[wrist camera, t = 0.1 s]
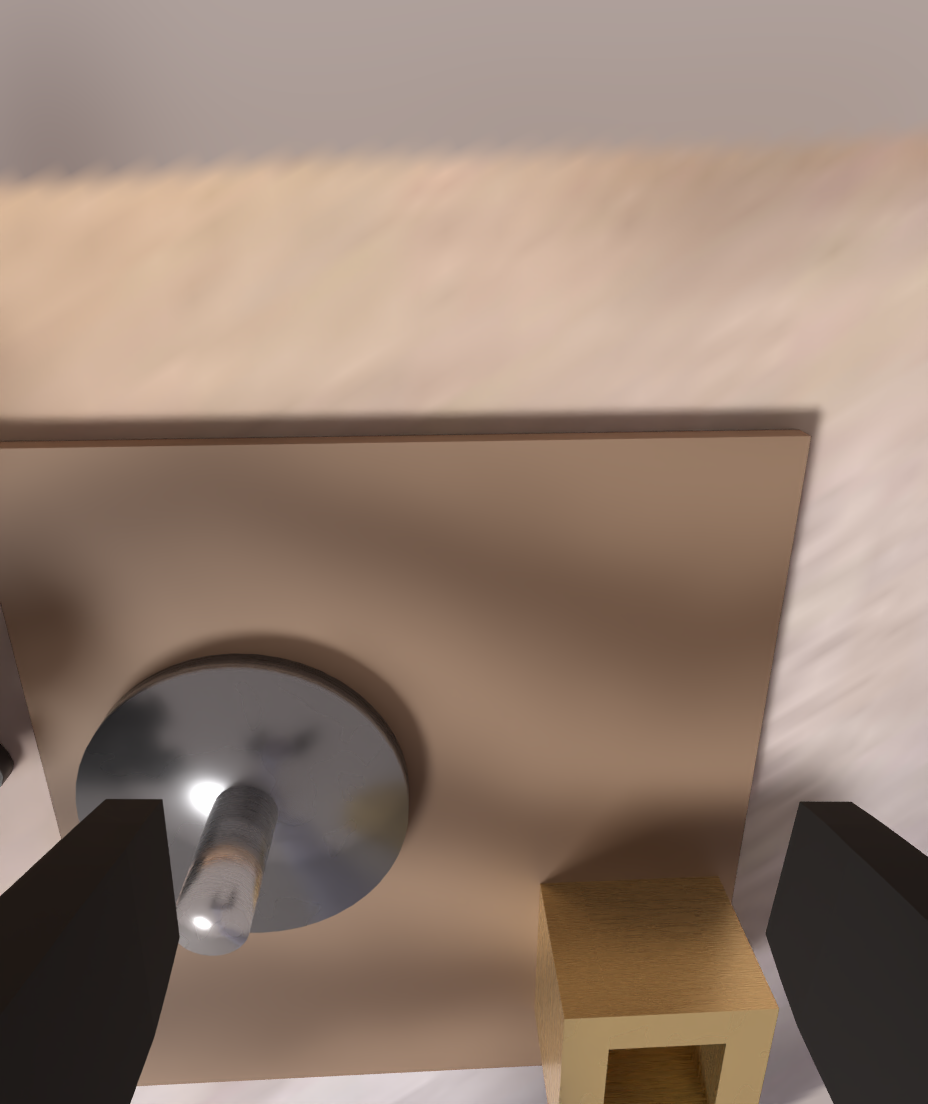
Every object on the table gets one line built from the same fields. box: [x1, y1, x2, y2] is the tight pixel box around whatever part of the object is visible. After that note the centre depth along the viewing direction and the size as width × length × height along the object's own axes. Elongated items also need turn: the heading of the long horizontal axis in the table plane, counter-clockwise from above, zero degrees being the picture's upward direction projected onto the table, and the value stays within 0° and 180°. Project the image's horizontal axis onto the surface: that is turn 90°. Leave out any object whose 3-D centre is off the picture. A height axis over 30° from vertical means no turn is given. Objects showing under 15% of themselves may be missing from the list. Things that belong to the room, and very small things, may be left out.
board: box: [0, 430, 811, 1086], centre depth 21 cm, size 20×18×1 cm
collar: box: [534, 876, 779, 1104], centre depth 21 cm, size 5×5×4 cm
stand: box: [76, 653, 409, 956], centre depth 18 cm, size 8×8×4 cm
